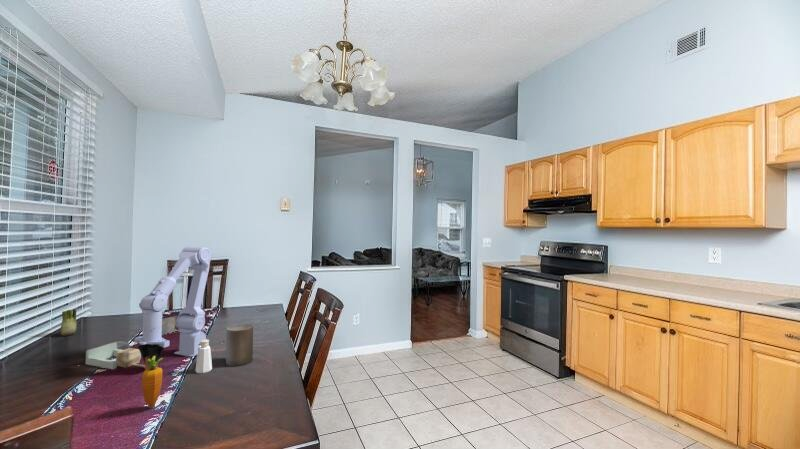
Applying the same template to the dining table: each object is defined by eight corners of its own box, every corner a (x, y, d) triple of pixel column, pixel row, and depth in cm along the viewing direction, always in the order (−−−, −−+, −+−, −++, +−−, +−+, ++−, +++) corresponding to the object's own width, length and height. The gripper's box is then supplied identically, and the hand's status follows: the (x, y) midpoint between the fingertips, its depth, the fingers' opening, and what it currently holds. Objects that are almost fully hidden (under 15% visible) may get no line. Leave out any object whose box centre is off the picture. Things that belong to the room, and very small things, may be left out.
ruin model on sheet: (154, 338, 158) (155, 317, 158) (151, 337, 160) (152, 316, 160) (180, 332, 168) (180, 312, 168) (176, 331, 169) (177, 311, 170)
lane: (140, 359, 133) (141, 346, 133) (113, 369, 123) (113, 355, 123) (114, 354, 136) (114, 342, 136) (85, 364, 127) (86, 350, 127)
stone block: (82, 362, 133) (100, 360, 131) (81, 349, 134) (100, 347, 131) (114, 352, 145) (132, 350, 142) (113, 341, 145) (131, 339, 143)
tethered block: (160, 366, 127) (160, 352, 127) (147, 371, 122) (147, 357, 122) (130, 360, 131) (130, 347, 131) (116, 365, 126) (116, 352, 126)
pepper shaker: (215, 368, 126) (216, 339, 126) (202, 374, 121) (203, 343, 121) (204, 366, 127) (205, 337, 128) (191, 372, 122) (192, 341, 122)
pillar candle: (258, 359, 135) (258, 321, 136) (237, 368, 126) (238, 328, 127) (241, 355, 139) (241, 318, 140) (219, 363, 131) (220, 324, 131)
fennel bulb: (75, 332, 162) (76, 307, 162) (78, 334, 159) (79, 309, 159) (58, 335, 157) (59, 309, 158) (60, 337, 155) (61, 311, 155)
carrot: (148, 403, 100) (149, 353, 100) (165, 403, 101) (167, 353, 101) (136, 412, 95) (138, 359, 96) (154, 412, 96) (156, 359, 96)
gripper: (126, 328, 123) (125, 365, 123) (156, 332, 119) (155, 371, 119) (146, 323, 130) (145, 358, 129) (175, 327, 125) (174, 363, 125)
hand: (151, 364), depth 124 cm, fingers closed on tethered block, 2 cm apart
